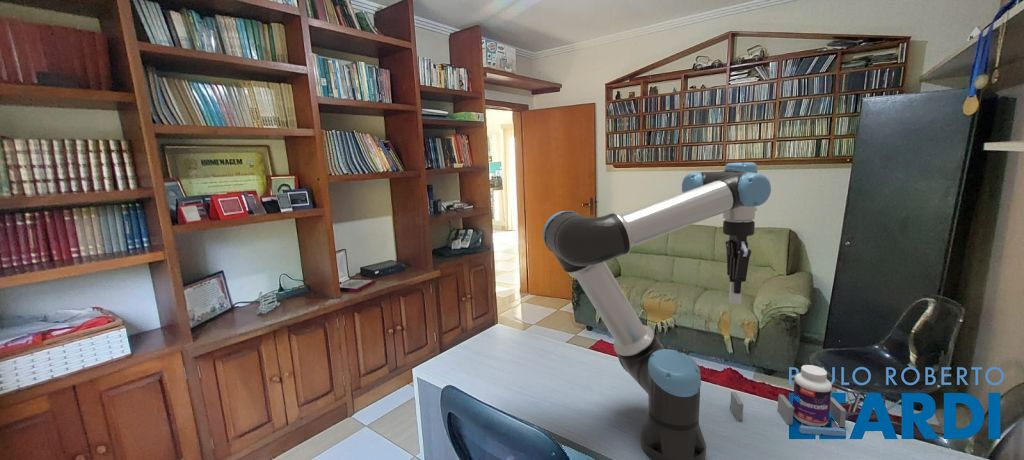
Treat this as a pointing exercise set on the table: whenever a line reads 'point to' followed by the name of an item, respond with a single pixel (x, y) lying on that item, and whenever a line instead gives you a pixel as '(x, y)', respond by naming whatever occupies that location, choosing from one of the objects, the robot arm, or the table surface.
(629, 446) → the table surface
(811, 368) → the pill bottle
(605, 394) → the table surface
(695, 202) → the robot arm
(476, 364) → the table surface
